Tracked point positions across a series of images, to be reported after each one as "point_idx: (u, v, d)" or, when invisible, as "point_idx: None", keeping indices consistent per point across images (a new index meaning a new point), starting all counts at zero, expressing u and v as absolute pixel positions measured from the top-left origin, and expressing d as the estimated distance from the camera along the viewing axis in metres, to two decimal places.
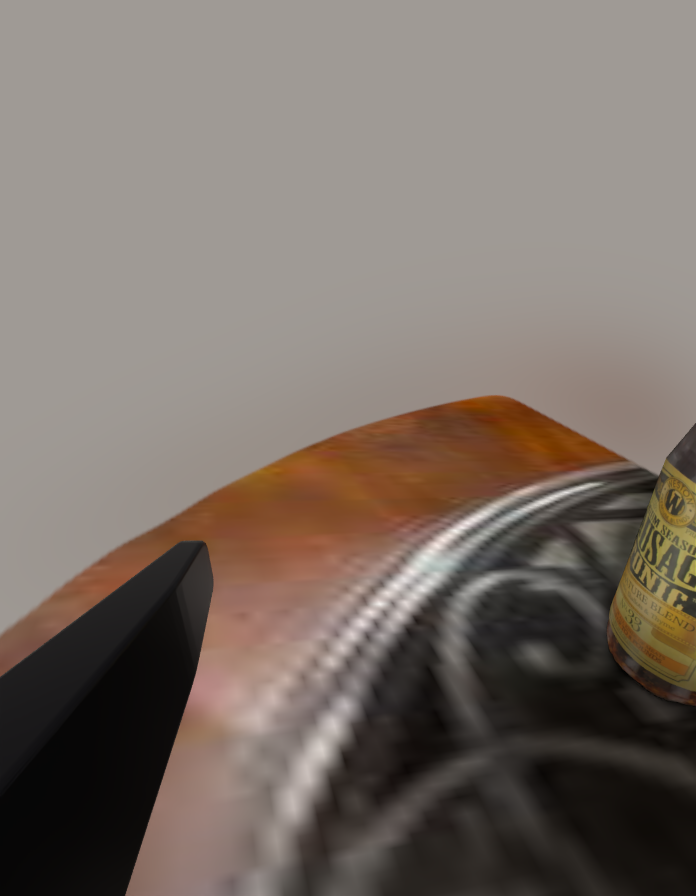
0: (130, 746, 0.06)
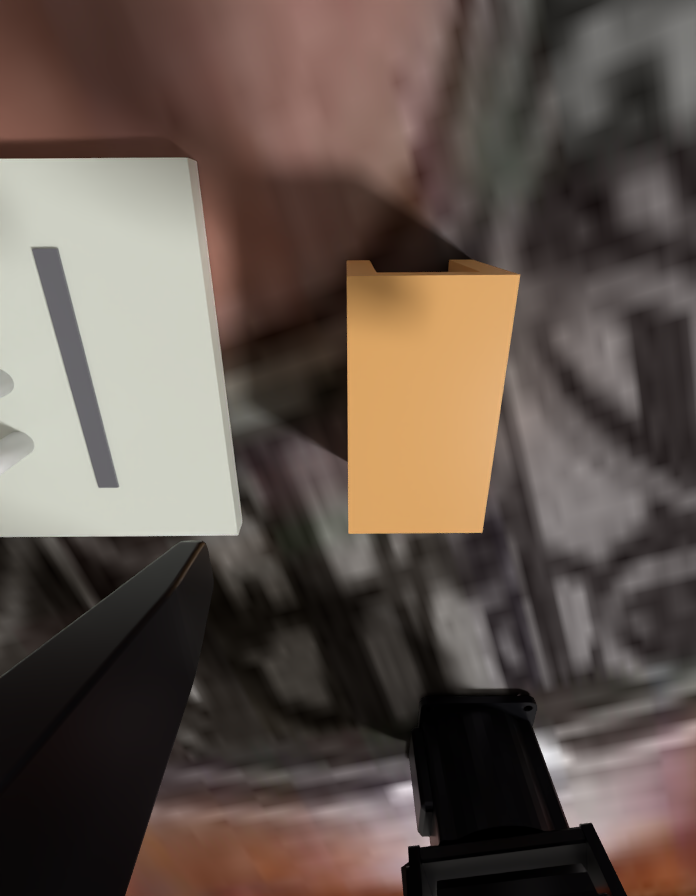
0: (130, 746, 0.06)
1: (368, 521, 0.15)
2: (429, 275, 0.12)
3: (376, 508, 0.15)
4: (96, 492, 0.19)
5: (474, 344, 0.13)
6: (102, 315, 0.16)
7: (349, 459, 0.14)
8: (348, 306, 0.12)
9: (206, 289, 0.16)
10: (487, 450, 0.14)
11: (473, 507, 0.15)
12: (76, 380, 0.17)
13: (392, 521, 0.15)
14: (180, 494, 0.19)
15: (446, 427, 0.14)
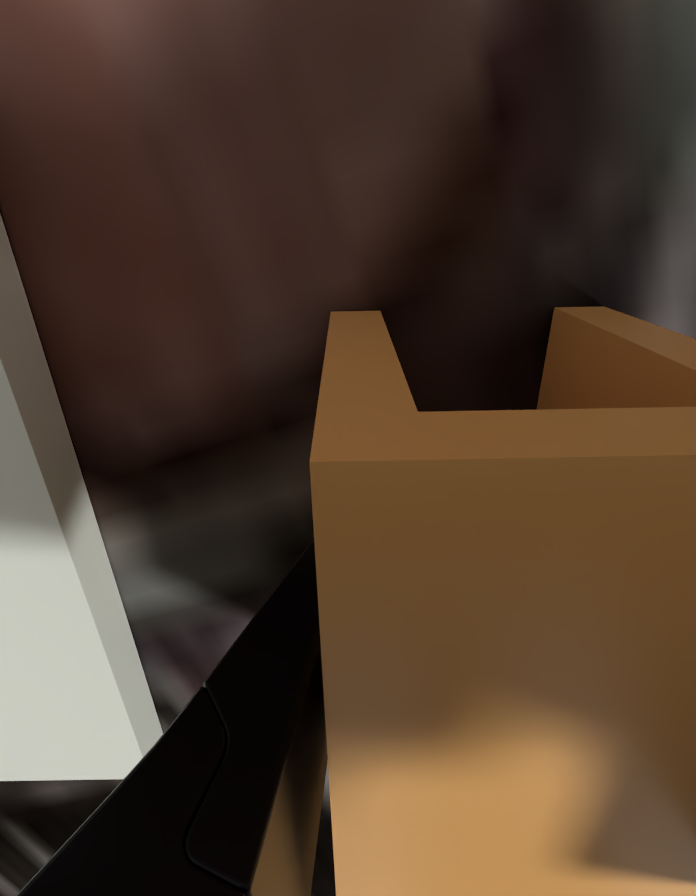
0: (317, 743, 0.06)
1: None
2: (635, 451, 0.03)
3: None
4: None
5: None
6: None
7: (338, 866, 0.05)
8: (320, 553, 0.03)
9: (15, 384, 0.07)
10: None
11: None
12: None
13: None
14: (37, 726, 0.11)
15: (611, 813, 0.05)
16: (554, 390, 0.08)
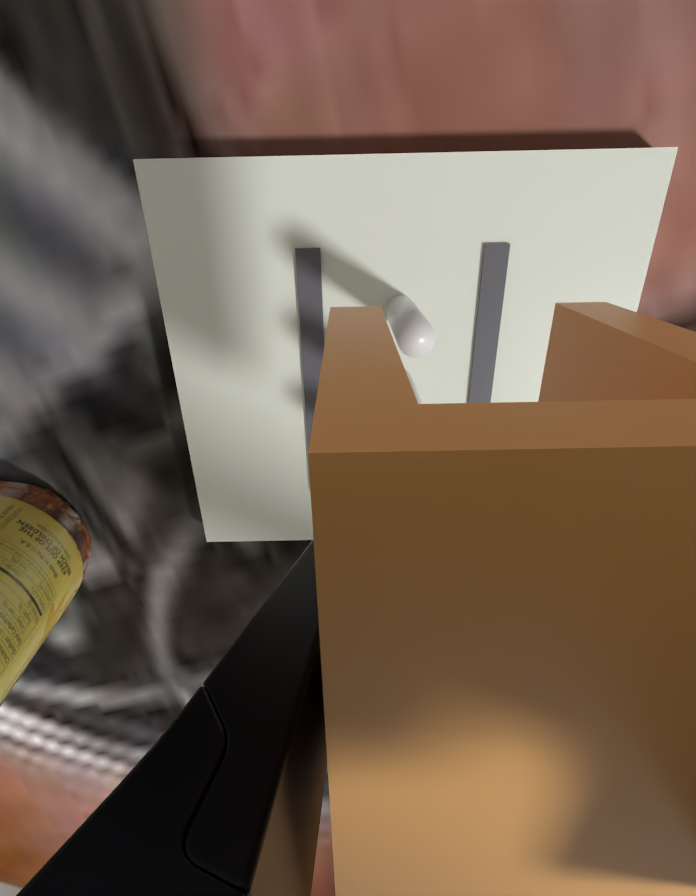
0: (317, 743, 0.06)
1: None
2: (639, 442, 0.03)
3: None
4: None
5: None
6: (528, 312, 0.16)
7: (337, 866, 0.05)
8: (319, 547, 0.03)
9: (641, 283, 0.16)
10: None
11: None
12: (478, 379, 0.17)
13: None
14: None
15: (613, 812, 0.05)
16: (554, 386, 0.08)
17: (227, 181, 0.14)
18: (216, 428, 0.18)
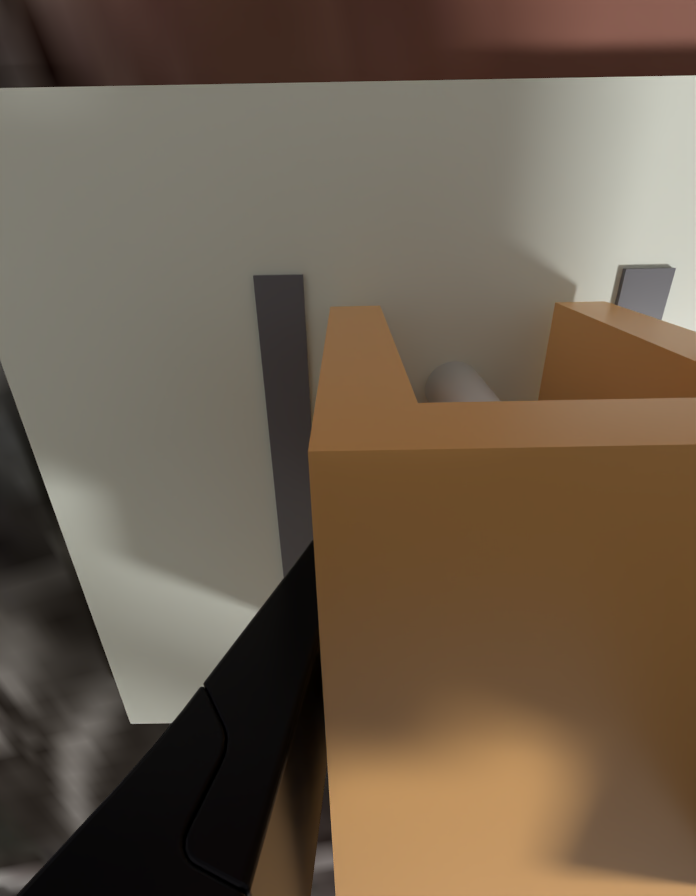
0: (317, 743, 0.06)
1: None
2: (638, 441, 0.03)
3: None
4: None
5: None
6: None
7: (337, 864, 0.05)
8: (319, 546, 0.03)
9: None
10: None
11: None
12: None
13: None
14: None
15: (613, 810, 0.05)
16: (554, 386, 0.08)
17: (109, 138, 0.07)
18: (129, 572, 0.10)
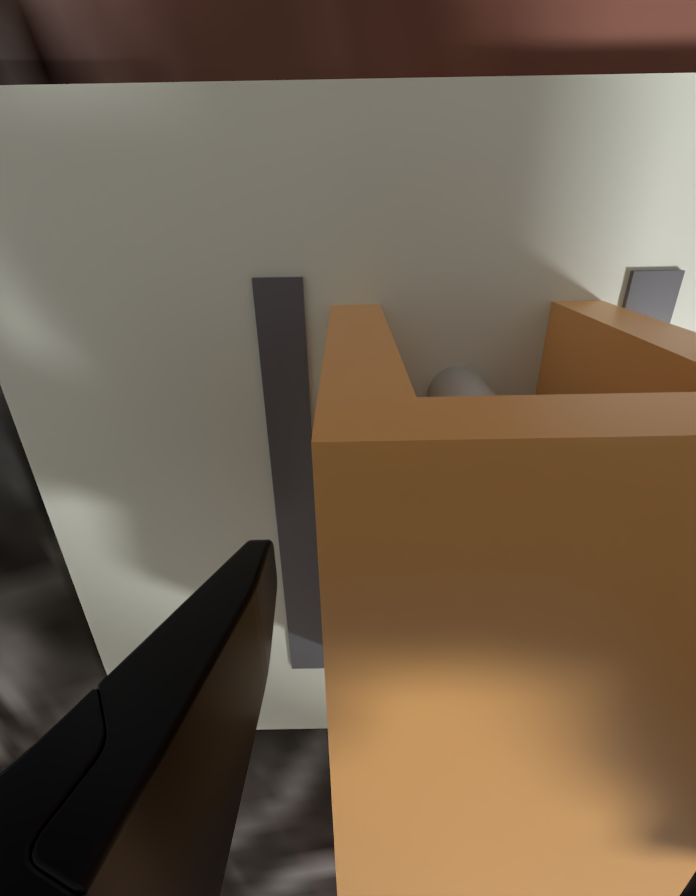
0: (226, 744, 0.06)
1: None
2: (627, 432, 0.03)
3: None
4: None
5: None
6: None
7: (338, 848, 0.05)
8: (321, 534, 0.03)
9: None
10: None
11: None
12: None
13: None
14: None
15: (605, 793, 0.05)
16: (551, 382, 0.08)
17: (104, 137, 0.07)
18: (126, 579, 0.10)
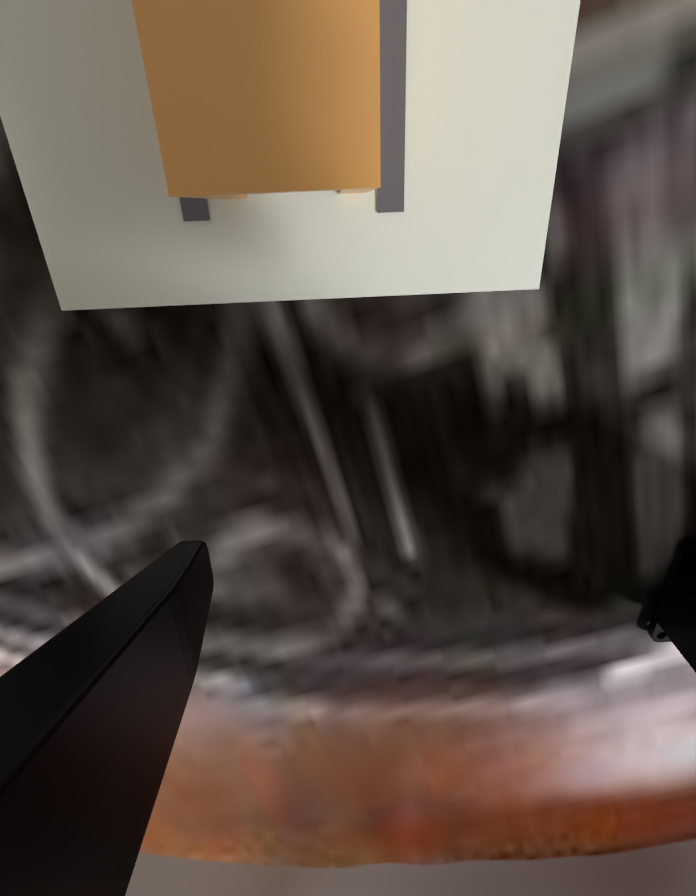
0: (130, 746, 0.06)
1: (196, 168, 0.09)
2: None
3: (203, 138, 0.09)
4: (370, 224, 0.15)
5: None
6: None
7: (138, 24, 0.08)
8: None
9: None
10: None
11: (360, 132, 0.09)
12: (386, 19, 0.12)
13: (234, 166, 0.09)
14: (481, 222, 0.15)
15: None
16: None
17: None
18: (43, 116, 0.13)
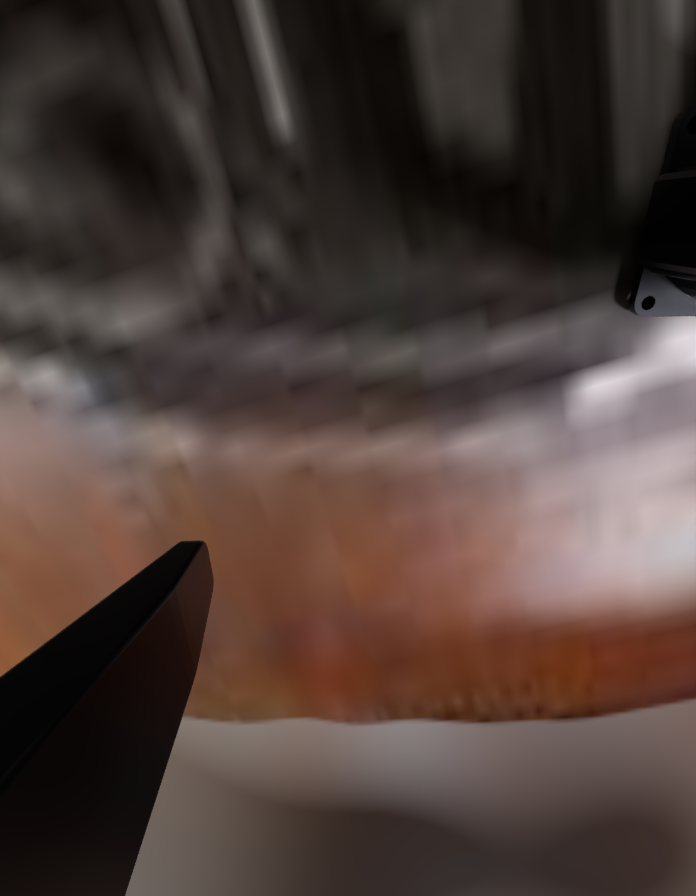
0: (130, 746, 0.06)
1: None
2: None
3: None
4: None
5: None
6: None
7: None
8: None
9: None
10: None
11: None
12: None
13: None
14: None
15: None
16: None
17: None
18: None
